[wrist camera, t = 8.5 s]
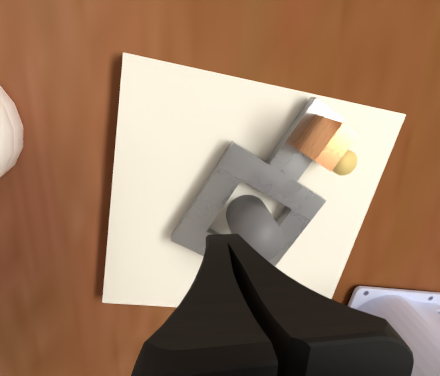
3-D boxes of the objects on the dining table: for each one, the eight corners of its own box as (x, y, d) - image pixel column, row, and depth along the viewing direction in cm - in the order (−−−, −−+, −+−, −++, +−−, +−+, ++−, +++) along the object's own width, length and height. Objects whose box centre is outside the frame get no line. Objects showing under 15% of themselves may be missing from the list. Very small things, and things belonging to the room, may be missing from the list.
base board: (396, 112, 22) (455, 123, 17) (319, 307, 28) (348, 355, 23) (125, 53, 18) (108, 47, 13) (105, 293, 24) (87, 346, 19)
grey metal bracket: (259, 276, 24) (275, 317, 20) (170, 234, 21) (169, 271, 17) (366, 138, 21) (410, 154, 17) (276, 70, 18) (303, 70, 14)
